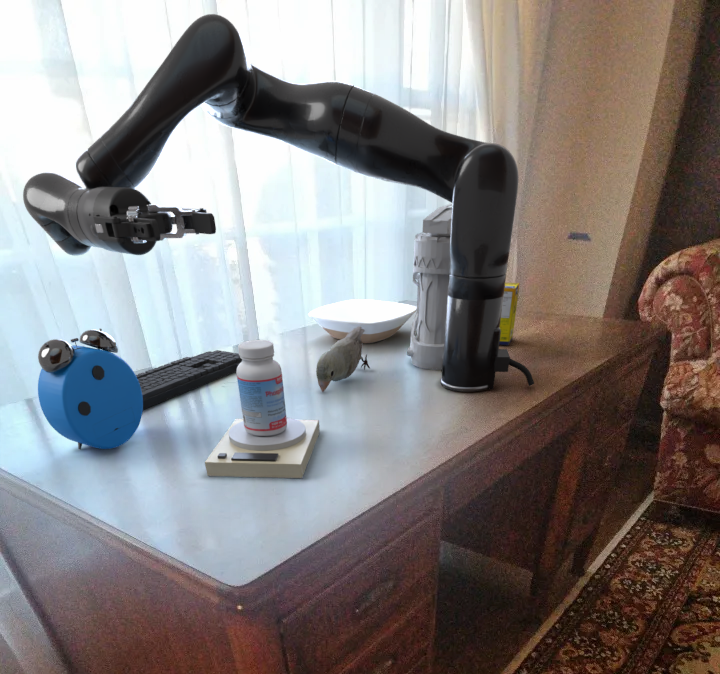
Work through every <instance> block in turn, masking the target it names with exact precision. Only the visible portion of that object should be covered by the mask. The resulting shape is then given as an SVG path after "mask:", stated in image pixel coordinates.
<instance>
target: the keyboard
mask: <svg viewBox="0 0 720 674" xmlns="http://www.w3.org/2000/svg"><path fill="white" fill-rule="evenodd" d="M241 362H242V359H241V358H240V355H239V352H232V351H225V350H218V349H216V350H213V351H212V350H211V351H204V352H203V353H200V354H197V355H194V356H191V357H190V356H186V357H182V358H180V359H177V360H174V361H171V362H170V363H169V362H168V363H165V364H163V365H160V366H157V367H153V368H152V369H149V370H146V371H144V372H139V373H138V374H135V375H136V377H137V379H138V381H139V384H140V387H141V391H142V397H143V411H144V410H146V409H149V408H150V407H153V406H157V405H158V404H160V403H163V402H166V401H168V400H171V399H173V398H175V397H177V396H181V395H182V394H185V393H188V392H189V391H192V390H195V389H197V388H199V387H200V388H201V387H202V386H204V385H207V384H209V383H212V382H214V381H217V380H219V379H221V378H224V377H226V376H229V375H231V374H234V373H236V370H237V367H238V365H239V364H240V363H241Z"/></svg>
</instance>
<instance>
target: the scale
mask: <svg viewBox="0 0 720 674" xmlns="http://www.w3.org/2000/svg"><path fill="white" fill-rule="evenodd" d="M286 418H287V428H286V429H285V430H284V431H283V432H281V433H279V434H277V435H273V436H255V435H251V434H249V433H248V432H246V430H245V427H244V421H243V418H235V419H234V420H233V422H232V423H231V425H230V426H229V427H228V429H226V432H225V433H224V434H223V435H222V437H221V439H219V441H218V443H217V444H216V446H214V448H213V449H212V451H211V452H210V454H209V456H208V457H207V458H206V459H205V461H204V465H205V471H206V475H207V477H225V478H226V477H231V478H272V479H303V477H304V474H305V472H306V470H307V467H308V465H309V461H310V459H311V456H312V454H313V452H314V449H315V446H316V444H317V441H318V438H319V435H320V433H321V429H320V420H319V419H295V418H292V417H287V416H286Z"/></svg>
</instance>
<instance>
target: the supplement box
mask: <svg viewBox="0 0 720 674" xmlns="http://www.w3.org/2000/svg"><path fill="white" fill-rule="evenodd" d="M520 285H521V283H520V282H505V289H504V297H503V305H502V312H501V320H500V330H501V335H500V343H499V346H509V345H510V344H511V342H512V340H513V338H514V331H515V323H516V322H515V321H516V315H517V308H518V299H519V292H520Z"/></svg>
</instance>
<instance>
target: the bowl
mask: <svg viewBox="0 0 720 674" xmlns="http://www.w3.org/2000/svg"><path fill="white" fill-rule="evenodd" d="M416 313H417V305H413V304H407V303H402V302H395V301H387V300H380V299H379V300H378V299H365V298H363V299H362V298H361V299H360V298H353V299H347V300H342V301H337V302H333V303H330V304H325V305H323V306H319V307H317V308H315V309H312V310H311V311H309V312H308V314H307V315H308V316H309V318H311V319H312V320H313V321H314V322H315V323H316V324H317V325H318V326H319V327H321V328H322V329H323V330H324V331H325V332H326V333H327V334H329V335H330V337H331V338H333V339H335V340H340V339H343V338H345V337H346V336H347V335H348V333H349V332H350V331H352V330H353V329H354V328H357V327H358V326H360V327H362V329H364V330H365V331H364V333H363V334H362V336H361V337H360V339H361V340H362V344H373V343H377V342H380V341H384V340H387V339H388V338H389V339H390V338H391V337H392V336H394V335H395V334H396V333H397V332H398V331H399V330H400V329H401V328H402V326H404V325H405V324H406V323H407V322H408V321H409V320H410V319H411V317H412V316H414V314H416Z"/></svg>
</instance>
